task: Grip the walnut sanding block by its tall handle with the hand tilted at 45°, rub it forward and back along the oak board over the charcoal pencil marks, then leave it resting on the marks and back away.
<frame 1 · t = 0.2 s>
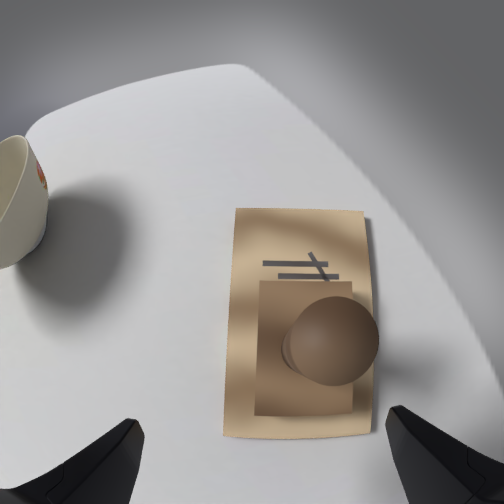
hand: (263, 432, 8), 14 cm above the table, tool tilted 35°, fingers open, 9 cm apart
oak board: (301, 320, 23), on the table
bowl: (31, 232, 29), on the table
sanding block: (302, 349, 22), point 1 cm above the table, touching oak board
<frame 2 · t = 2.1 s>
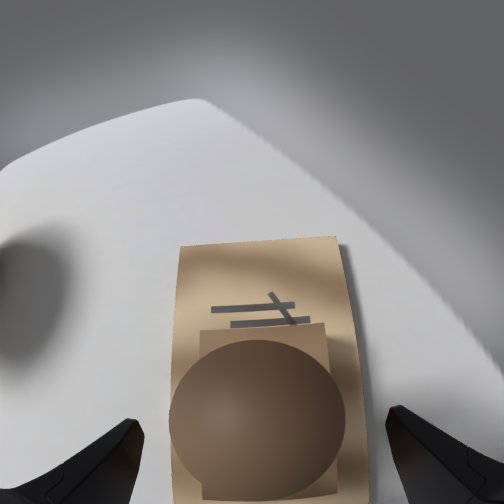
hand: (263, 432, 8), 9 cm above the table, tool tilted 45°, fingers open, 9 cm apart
oak board: (265, 379, 17), on the table
sanding block: (267, 416, 15), point 1 cm above the table, touching oak board
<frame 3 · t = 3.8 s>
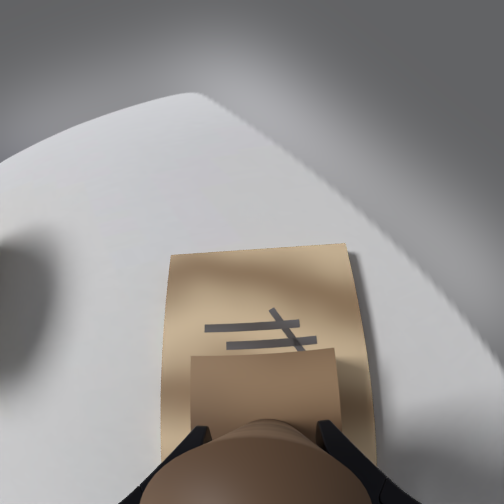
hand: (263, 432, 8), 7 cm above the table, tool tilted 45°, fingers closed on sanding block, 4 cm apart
oak board: (266, 405, 15), on the table
sanding block: (267, 447, 13), point 1 cm above the table, touching gripper, oak board
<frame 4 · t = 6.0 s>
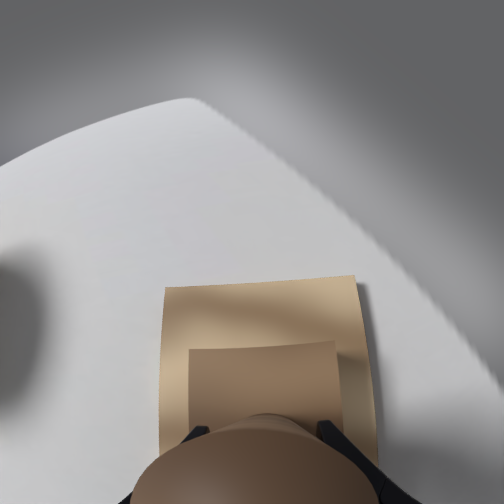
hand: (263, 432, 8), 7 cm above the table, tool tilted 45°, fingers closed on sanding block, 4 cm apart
oak board: (268, 447, 13), on the table
sanding block: (267, 443, 13), point 1 cm above the table, touching gripper
when the fingers open (7 cm above the table, at t = 8.3 s): sanding block stays where it is, resting on oak board.
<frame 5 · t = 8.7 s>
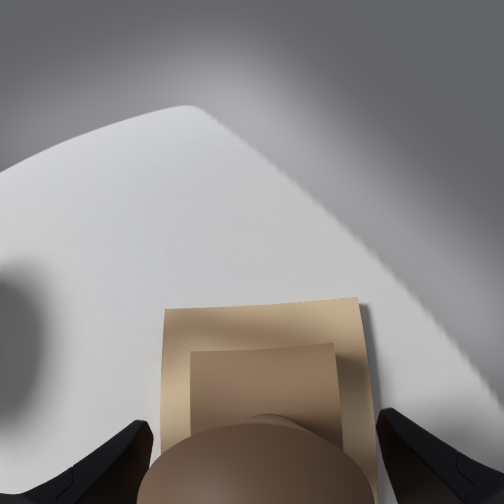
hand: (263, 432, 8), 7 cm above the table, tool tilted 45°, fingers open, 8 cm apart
oak board: (269, 468, 13), on the table
sanding block: (267, 443, 13), point 1 cm above the table, touching oak board
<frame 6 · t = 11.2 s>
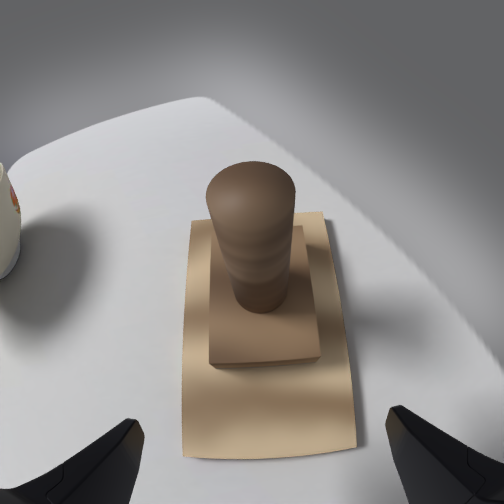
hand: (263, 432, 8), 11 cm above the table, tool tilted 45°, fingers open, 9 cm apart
oak board: (263, 327, 22), on the table
bowl: (7, 259, 27), on the table
sanding block: (261, 301, 22), point 1 cm above the table, touching oak board
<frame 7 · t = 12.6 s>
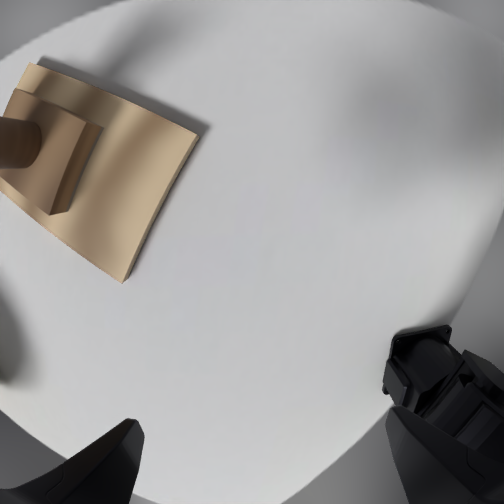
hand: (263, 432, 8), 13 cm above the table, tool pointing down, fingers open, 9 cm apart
oak board: (64, 155, 19), on the table
sanding block: (45, 146, 18), point 1 cm above the table, touching oak board
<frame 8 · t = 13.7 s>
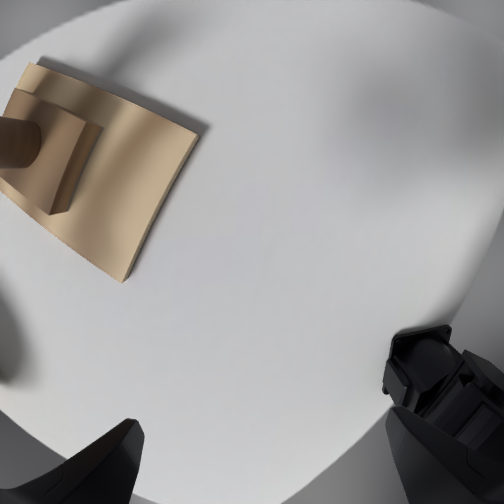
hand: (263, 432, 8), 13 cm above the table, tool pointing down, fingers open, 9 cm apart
oak board: (64, 154, 19), on the table
sanding block: (45, 146, 18), point 1 cm above the table, touching oak board
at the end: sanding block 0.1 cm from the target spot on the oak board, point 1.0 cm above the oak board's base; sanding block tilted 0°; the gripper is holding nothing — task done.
